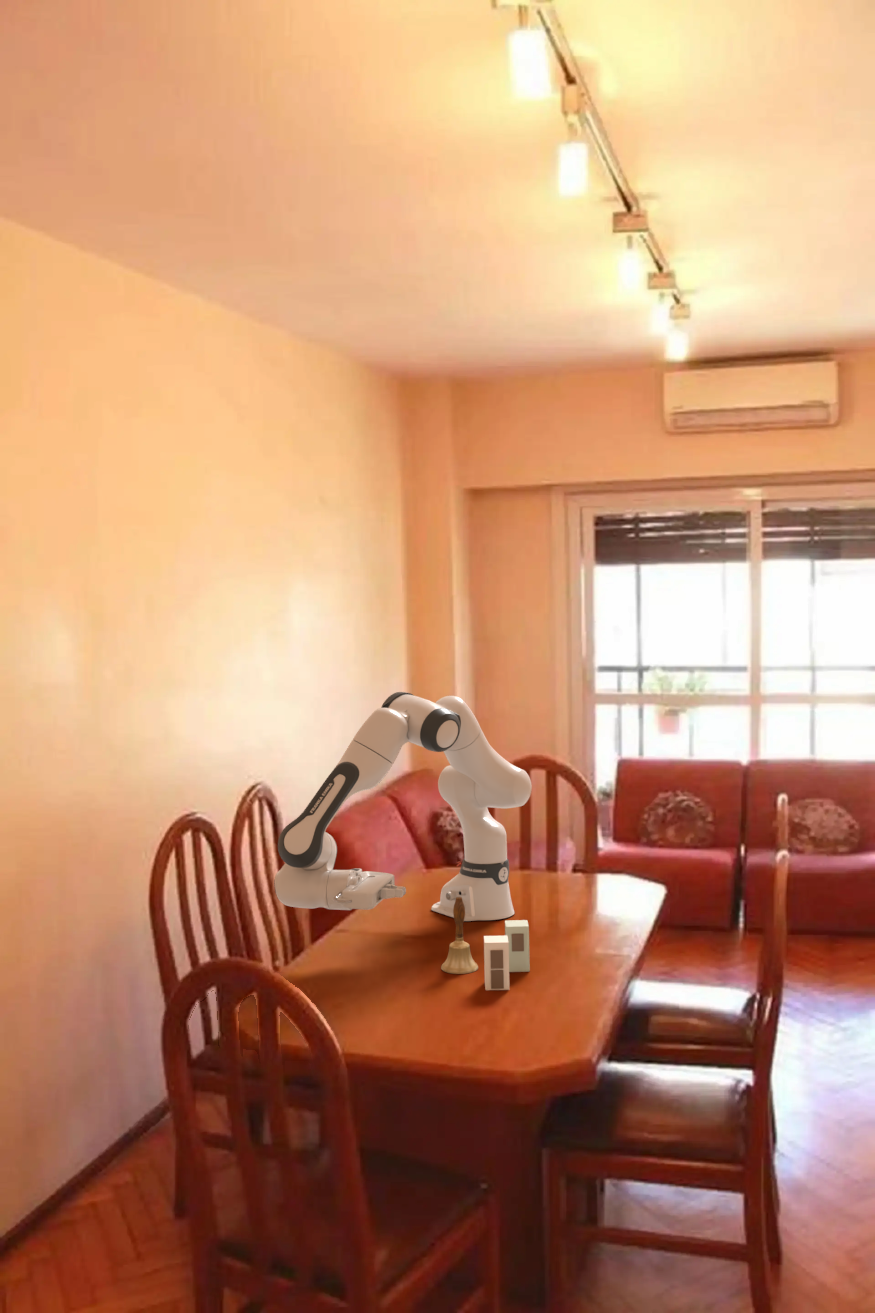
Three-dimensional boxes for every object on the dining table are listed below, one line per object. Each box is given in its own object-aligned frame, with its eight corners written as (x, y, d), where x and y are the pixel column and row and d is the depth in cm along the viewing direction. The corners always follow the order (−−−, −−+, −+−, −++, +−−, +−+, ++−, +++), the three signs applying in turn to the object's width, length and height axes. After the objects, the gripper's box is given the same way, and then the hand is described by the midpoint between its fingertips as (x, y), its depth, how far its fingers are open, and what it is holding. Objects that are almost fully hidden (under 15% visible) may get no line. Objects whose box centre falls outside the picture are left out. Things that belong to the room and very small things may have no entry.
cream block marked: (484, 982, 243) (483, 936, 242) (508, 982, 243) (507, 935, 242) (485, 990, 237) (484, 943, 237) (509, 990, 237) (508, 942, 237)
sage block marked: (505, 965, 254) (504, 920, 254) (528, 964, 254) (527, 920, 254) (506, 972, 249) (506, 927, 248) (529, 972, 249) (528, 926, 248)
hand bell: (483, 964, 255) (481, 893, 254) (471, 975, 247) (470, 903, 246) (447, 961, 258) (446, 891, 257) (435, 972, 250) (434, 900, 249)
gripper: (330, 886, 247) (392, 888, 244) (357, 866, 267) (414, 868, 264) (331, 915, 247) (392, 918, 244) (357, 893, 267) (415, 895, 264)
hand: (404, 892), depth 254 cm, fingers closed
